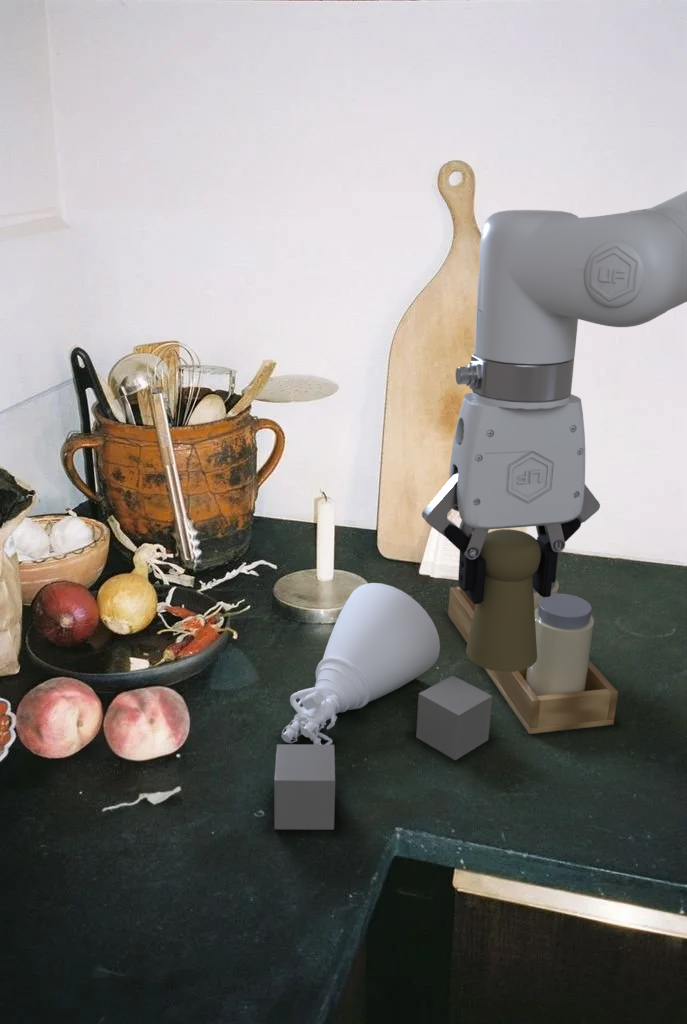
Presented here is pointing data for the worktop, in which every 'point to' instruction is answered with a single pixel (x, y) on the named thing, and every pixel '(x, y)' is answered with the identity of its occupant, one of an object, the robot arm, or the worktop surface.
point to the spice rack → (547, 709)
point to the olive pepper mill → (506, 604)
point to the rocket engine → (366, 657)
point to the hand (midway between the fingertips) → (506, 591)
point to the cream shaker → (561, 645)
